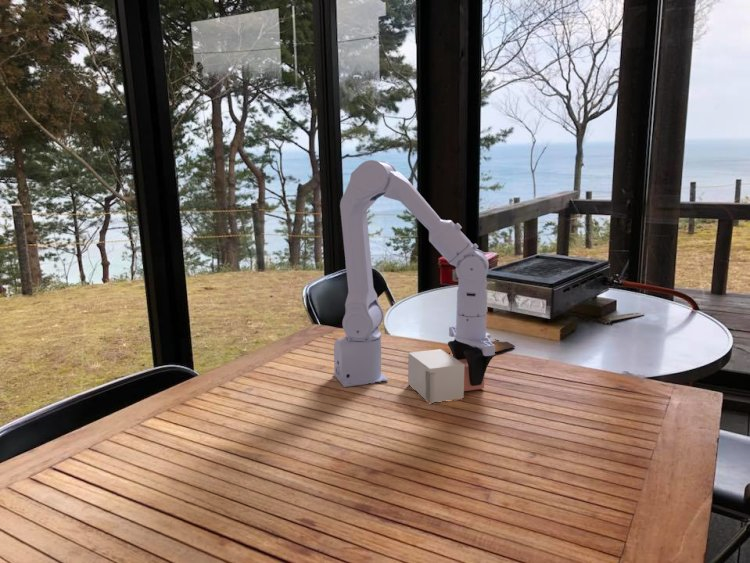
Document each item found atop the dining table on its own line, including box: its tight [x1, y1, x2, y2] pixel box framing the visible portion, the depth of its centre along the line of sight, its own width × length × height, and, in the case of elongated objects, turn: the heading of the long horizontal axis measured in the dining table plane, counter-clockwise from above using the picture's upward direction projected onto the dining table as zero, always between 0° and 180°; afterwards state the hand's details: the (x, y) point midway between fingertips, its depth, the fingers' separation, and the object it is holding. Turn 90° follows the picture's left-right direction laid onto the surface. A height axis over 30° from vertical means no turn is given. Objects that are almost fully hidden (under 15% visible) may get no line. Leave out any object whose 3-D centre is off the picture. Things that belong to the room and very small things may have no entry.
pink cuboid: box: [458, 359, 486, 392], centre depth 108 cm, size 11×4×5 cm, turn 110°
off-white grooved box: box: [407, 348, 465, 404], centre depth 106 cm, size 7×10×7 cm
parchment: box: [490, 338, 516, 353], centre depth 132 cm, size 25×10×1 cm, turn 122°
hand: (469, 380), depth 109 cm, fingers closed on pink cuboid, 4 cm apart
